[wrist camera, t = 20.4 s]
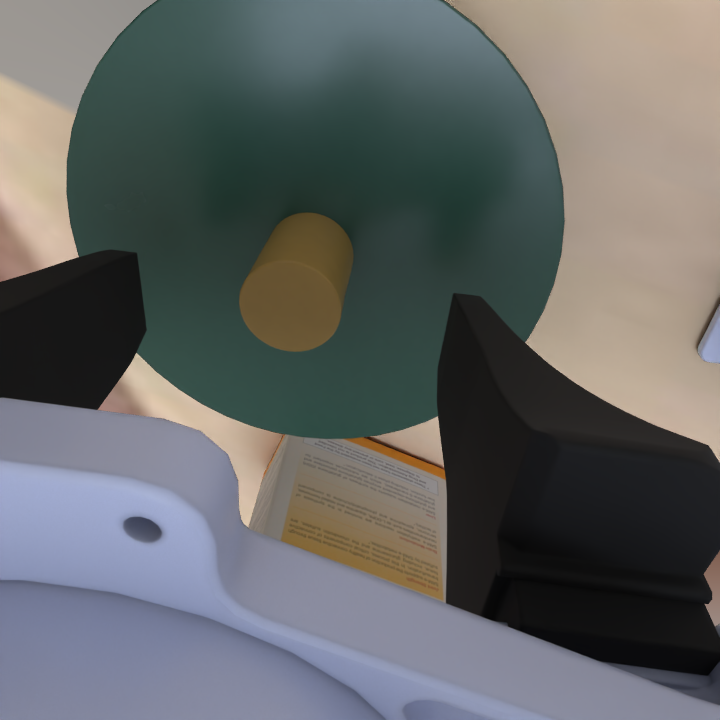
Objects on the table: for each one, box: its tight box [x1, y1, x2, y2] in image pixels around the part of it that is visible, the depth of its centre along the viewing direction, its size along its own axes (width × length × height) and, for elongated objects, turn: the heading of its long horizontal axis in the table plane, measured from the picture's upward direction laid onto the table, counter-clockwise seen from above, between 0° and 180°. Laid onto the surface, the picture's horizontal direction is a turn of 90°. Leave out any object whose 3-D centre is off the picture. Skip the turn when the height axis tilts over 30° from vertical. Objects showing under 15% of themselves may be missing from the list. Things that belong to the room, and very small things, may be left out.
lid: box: [67, 0, 565, 439], centre depth 15 cm, size 14×14×4 cm
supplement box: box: [249, 434, 447, 603], centre depth 23 cm, size 8×5×13 cm, turn 65°
